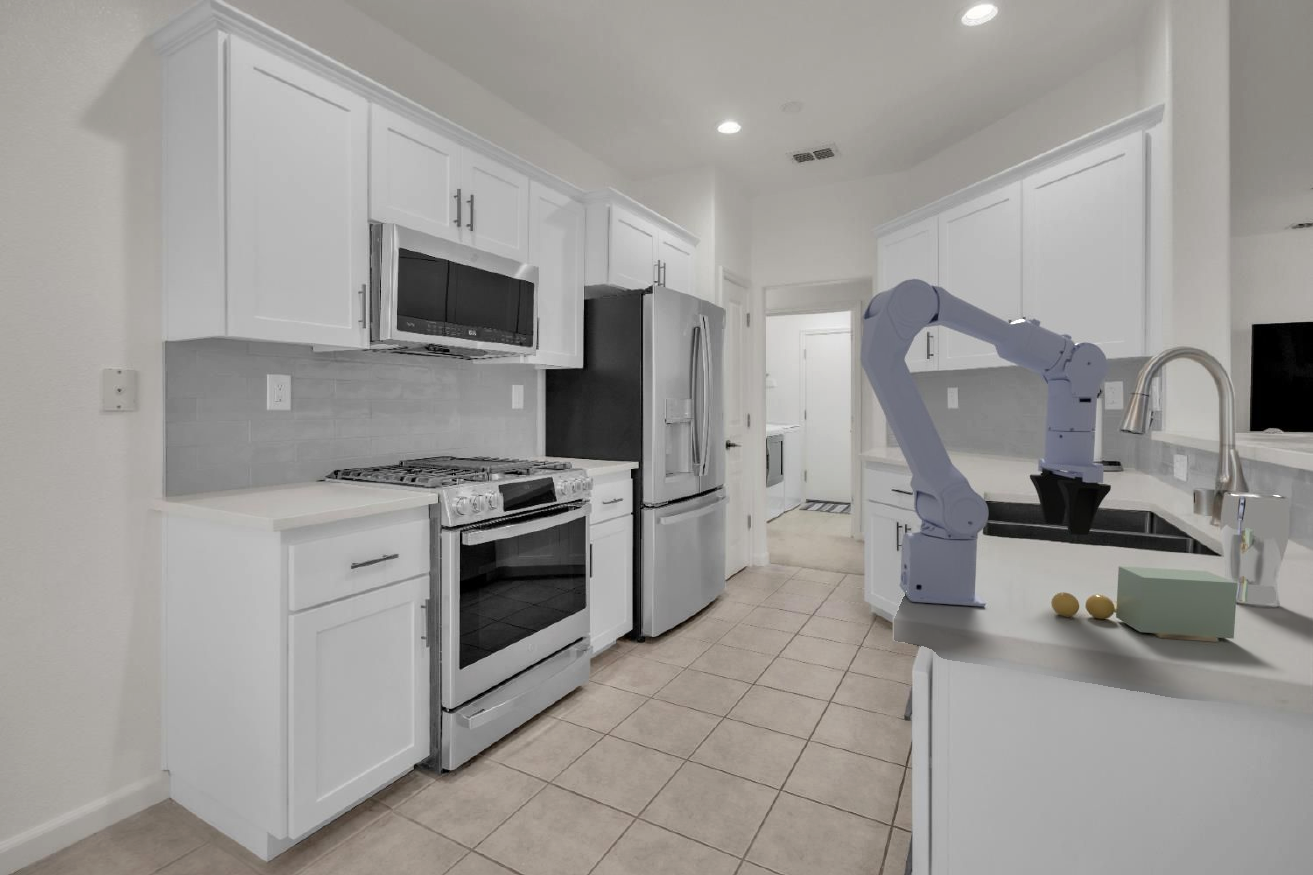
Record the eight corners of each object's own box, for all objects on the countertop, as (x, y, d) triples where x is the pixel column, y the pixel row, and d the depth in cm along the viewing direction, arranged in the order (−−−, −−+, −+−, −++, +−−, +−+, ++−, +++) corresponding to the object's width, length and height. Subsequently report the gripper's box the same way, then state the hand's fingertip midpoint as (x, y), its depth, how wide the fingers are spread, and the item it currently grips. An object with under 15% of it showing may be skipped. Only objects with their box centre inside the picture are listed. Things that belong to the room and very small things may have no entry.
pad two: (1159, 637, 73) (1159, 633, 73) (1130, 620, 78) (1130, 616, 78) (1218, 641, 72) (1218, 637, 71) (1184, 624, 77) (1184, 620, 77)
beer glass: (1298, 611, 83) (1306, 499, 83) (1238, 606, 85) (1244, 497, 84) (1259, 595, 90) (1266, 492, 89) (1204, 592, 91) (1210, 490, 91)
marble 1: (1057, 618, 79) (1058, 595, 78) (1046, 611, 82) (1047, 588, 81) (1083, 620, 78) (1084, 597, 78) (1072, 613, 81) (1073, 590, 81)
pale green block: (1139, 631, 73) (1143, 577, 73) (1115, 617, 78) (1118, 566, 78) (1233, 638, 72) (1237, 582, 71) (1202, 623, 77) (1206, 571, 76)
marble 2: (1092, 621, 78) (1093, 597, 78) (1080, 613, 81) (1081, 590, 81) (1118, 623, 77) (1120, 599, 77) (1106, 615, 80) (1107, 592, 80)
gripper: (1132, 434, 78) (1126, 541, 79) (1076, 429, 92) (1072, 520, 93) (1070, 432, 79) (1065, 538, 80) (1024, 428, 94) (1020, 518, 94)
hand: (1065, 528), depth 87 cm, fingers open, 7 cm apart
